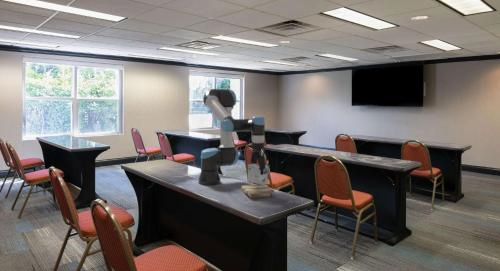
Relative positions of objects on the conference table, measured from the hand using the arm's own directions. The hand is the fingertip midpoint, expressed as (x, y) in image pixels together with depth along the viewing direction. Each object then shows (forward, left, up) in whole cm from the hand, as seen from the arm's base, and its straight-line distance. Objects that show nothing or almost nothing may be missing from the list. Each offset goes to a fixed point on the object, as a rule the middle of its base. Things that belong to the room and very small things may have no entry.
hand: (257, 177), depth 203 cm
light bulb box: (0, 0, -3) cm, 3 cm away
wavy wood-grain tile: (0, 0, -10) cm, 10 cm away
